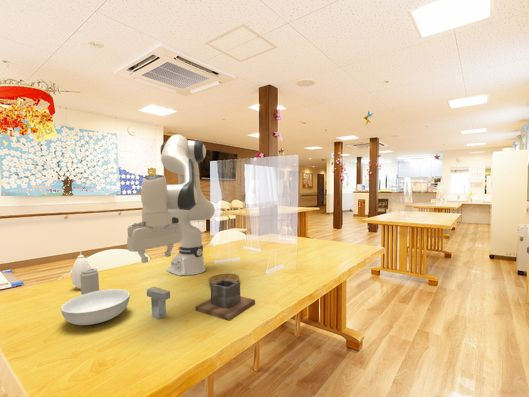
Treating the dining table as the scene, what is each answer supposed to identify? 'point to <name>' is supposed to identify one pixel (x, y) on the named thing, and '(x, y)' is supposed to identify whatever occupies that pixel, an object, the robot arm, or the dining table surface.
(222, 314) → the square pot on base
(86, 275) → the beverage can
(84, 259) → the sauce bottle
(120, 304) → the serving bowl
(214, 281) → the plant saucer
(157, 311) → the grey t-shaped peg
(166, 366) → the dining table surface
